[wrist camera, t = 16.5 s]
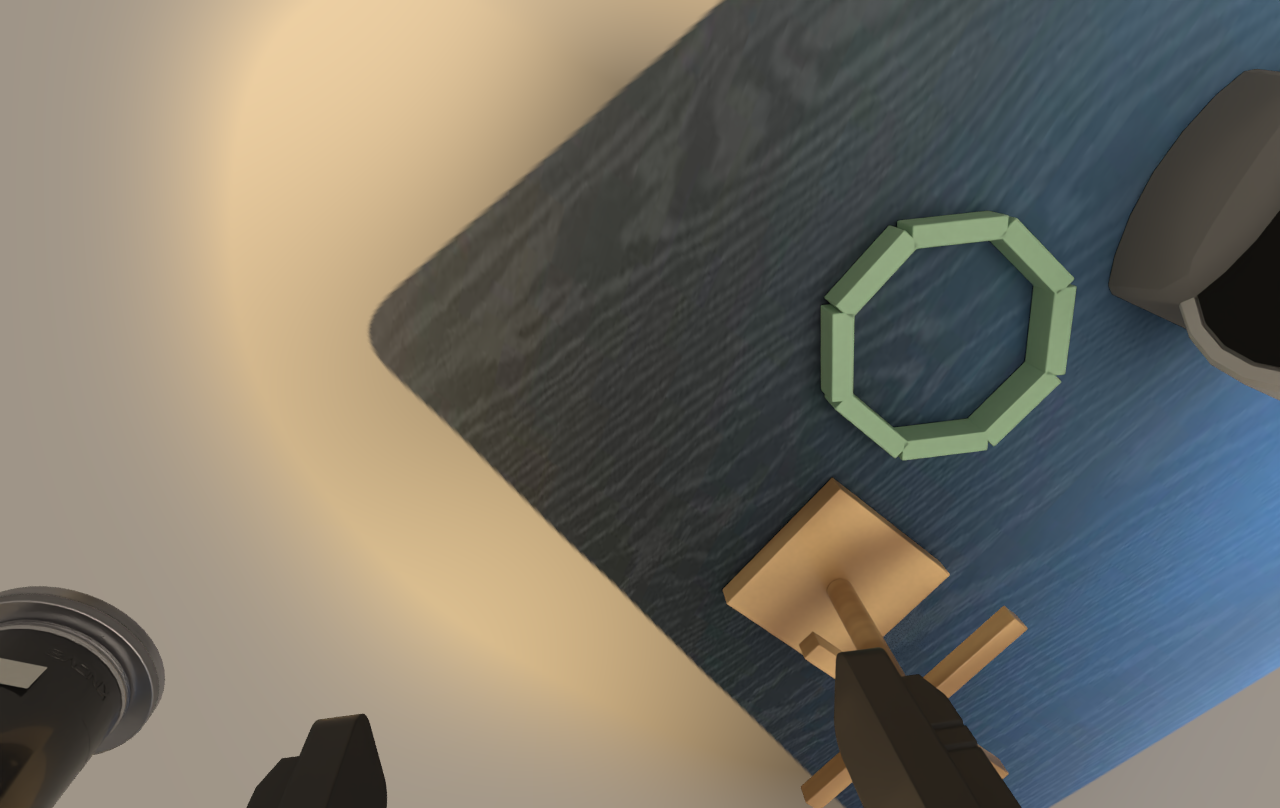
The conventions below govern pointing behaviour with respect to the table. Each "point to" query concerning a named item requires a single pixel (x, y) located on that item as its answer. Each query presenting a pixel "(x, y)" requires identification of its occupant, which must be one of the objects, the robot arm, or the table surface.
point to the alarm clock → (1215, 234)
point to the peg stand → (853, 600)
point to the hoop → (1013, 395)
